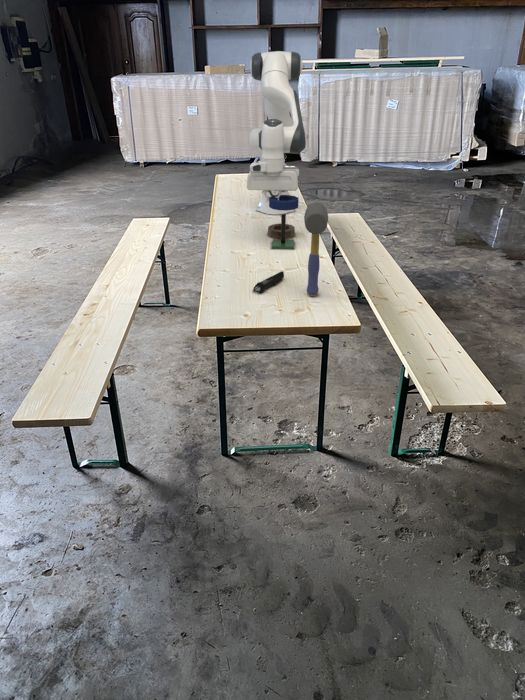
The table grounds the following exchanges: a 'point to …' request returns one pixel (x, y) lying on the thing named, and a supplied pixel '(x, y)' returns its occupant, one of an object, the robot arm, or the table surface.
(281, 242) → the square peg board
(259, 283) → the electric trimmer
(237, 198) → the table surface
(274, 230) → the walnut ring
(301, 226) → the table surface
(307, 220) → the rubber mallet
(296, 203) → the navy ring
